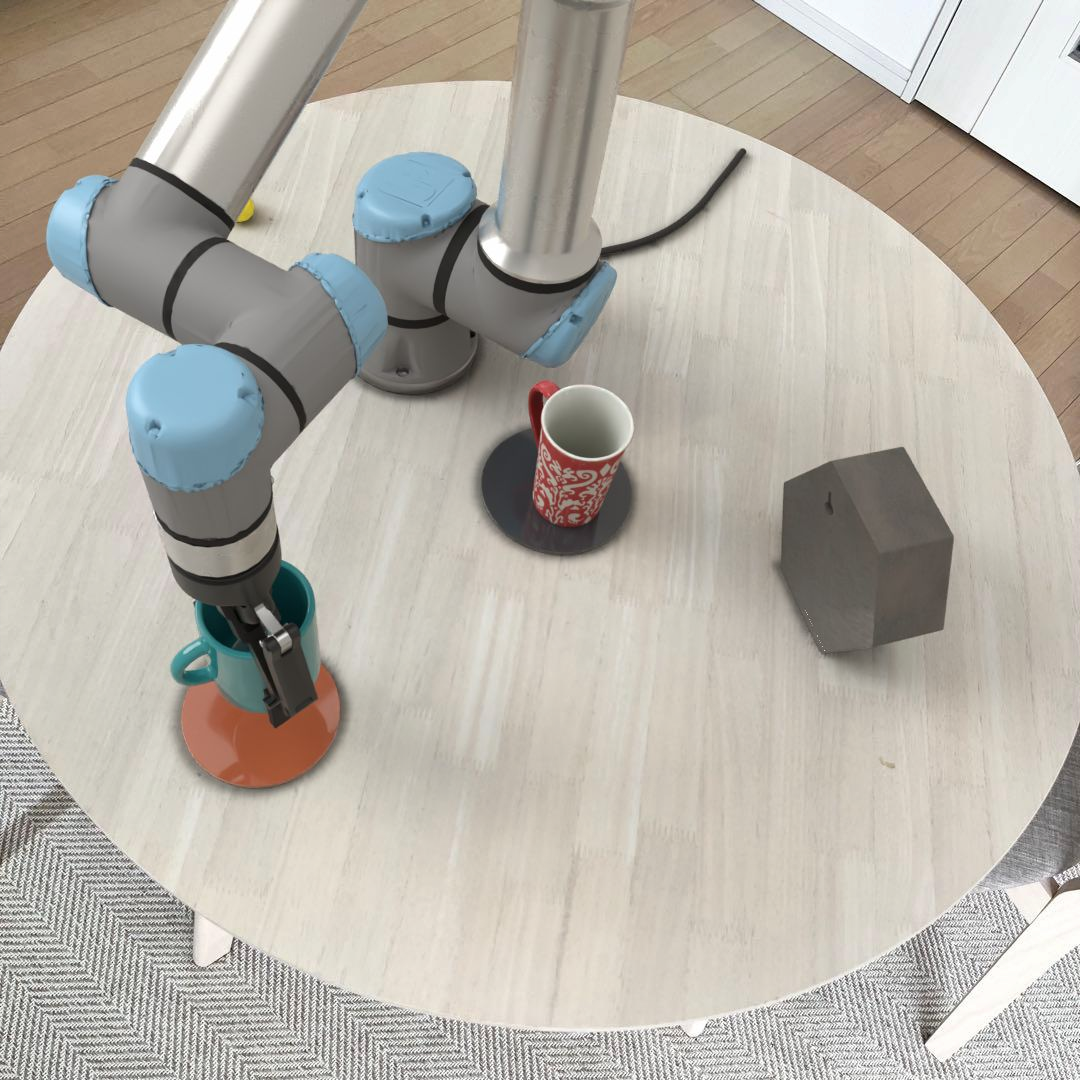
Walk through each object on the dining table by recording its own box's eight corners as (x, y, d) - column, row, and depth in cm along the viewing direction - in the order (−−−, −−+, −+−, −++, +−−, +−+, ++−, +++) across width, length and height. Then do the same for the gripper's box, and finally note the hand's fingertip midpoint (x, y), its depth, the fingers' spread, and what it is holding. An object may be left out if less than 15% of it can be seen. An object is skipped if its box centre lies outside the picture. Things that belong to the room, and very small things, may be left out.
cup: (161, 661, 95) (138, 597, 86) (294, 604, 100) (285, 537, 90) (203, 750, 92) (183, 695, 82) (338, 687, 96) (334, 627, 87)
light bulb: (238, 232, 133) (223, 207, 130) (223, 210, 137) (208, 186, 134) (263, 217, 133) (248, 192, 131) (248, 196, 137) (233, 172, 134)
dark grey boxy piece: (938, 678, 107) (961, 479, 98) (867, 697, 106) (884, 495, 96) (842, 598, 122) (854, 417, 113) (778, 613, 120) (785, 430, 111)
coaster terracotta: (281, 617, 108) (281, 614, 108) (371, 724, 103) (371, 722, 103) (151, 702, 102) (150, 699, 102) (240, 820, 97) (239, 818, 97)
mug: (627, 514, 118) (653, 437, 107) (554, 549, 115) (573, 473, 104) (562, 427, 123) (581, 345, 112) (491, 458, 120) (502, 377, 108)
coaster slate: (561, 405, 125) (562, 403, 125) (661, 502, 120) (662, 499, 120) (449, 477, 119) (449, 474, 118) (550, 582, 113) (551, 580, 113)
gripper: (364, 616, 74) (367, 742, 93) (180, 403, 81) (217, 561, 100) (267, 681, 71) (290, 798, 90) (85, 454, 78) (142, 607, 97)
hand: (252, 673), depth 95 cm, fingers closed on cup, 9 cm apart
